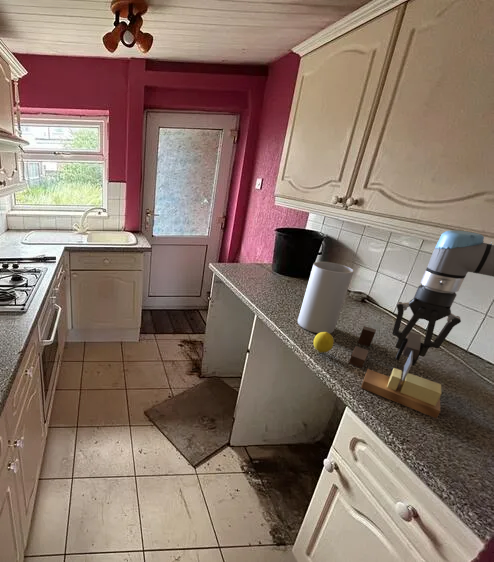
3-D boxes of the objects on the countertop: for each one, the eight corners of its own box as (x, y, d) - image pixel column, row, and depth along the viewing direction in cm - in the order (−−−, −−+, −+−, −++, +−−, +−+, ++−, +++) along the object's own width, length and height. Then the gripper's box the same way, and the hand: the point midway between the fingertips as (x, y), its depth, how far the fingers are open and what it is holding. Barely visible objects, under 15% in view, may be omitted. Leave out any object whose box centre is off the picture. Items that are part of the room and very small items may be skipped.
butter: (435, 396, 84) (441, 384, 82) (435, 406, 80) (441, 393, 79) (401, 383, 88) (406, 372, 87) (400, 392, 85) (405, 380, 83)
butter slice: (396, 382, 89) (402, 370, 87) (395, 390, 85) (400, 378, 84) (388, 379, 90) (393, 367, 89) (387, 387, 87) (392, 375, 85)
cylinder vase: (294, 316, 130) (310, 260, 121) (329, 322, 126) (347, 264, 117) (299, 331, 119) (317, 269, 110) (337, 337, 115) (358, 275, 106)
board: (436, 402, 85) (440, 395, 84) (436, 418, 80) (440, 411, 79) (364, 375, 95) (367, 368, 94) (360, 387, 90) (363, 380, 89)
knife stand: (370, 343, 112) (376, 329, 110) (362, 368, 98) (368, 352, 96) (358, 340, 115) (363, 325, 112) (348, 363, 101) (354, 347, 99)
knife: (413, 351, 95) (421, 334, 93) (410, 383, 81) (419, 364, 79) (401, 348, 97) (408, 331, 95) (396, 378, 83) (404, 359, 81)
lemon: (308, 352, 106) (315, 331, 103) (313, 346, 110) (319, 326, 107) (327, 359, 103) (334, 338, 100) (331, 352, 106) (338, 332, 103)
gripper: (399, 283, 86) (370, 354, 95) (482, 301, 76) (442, 379, 85) (400, 277, 91) (373, 345, 100) (479, 293, 81) (441, 367, 90)
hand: (405, 360), depth 93 cm, fingers closed on knife, 3 cm apart
